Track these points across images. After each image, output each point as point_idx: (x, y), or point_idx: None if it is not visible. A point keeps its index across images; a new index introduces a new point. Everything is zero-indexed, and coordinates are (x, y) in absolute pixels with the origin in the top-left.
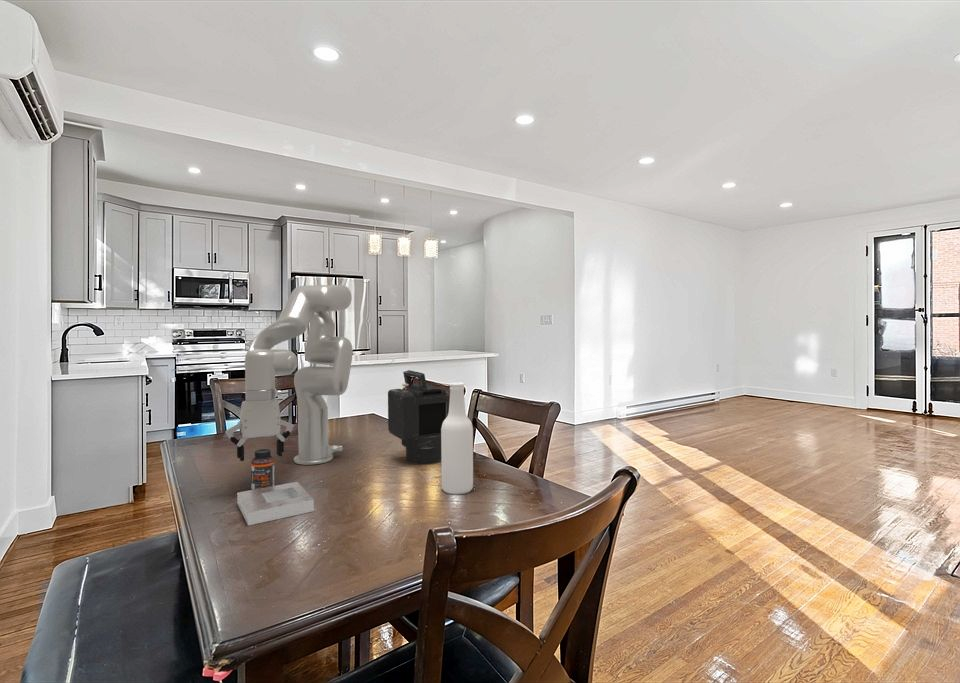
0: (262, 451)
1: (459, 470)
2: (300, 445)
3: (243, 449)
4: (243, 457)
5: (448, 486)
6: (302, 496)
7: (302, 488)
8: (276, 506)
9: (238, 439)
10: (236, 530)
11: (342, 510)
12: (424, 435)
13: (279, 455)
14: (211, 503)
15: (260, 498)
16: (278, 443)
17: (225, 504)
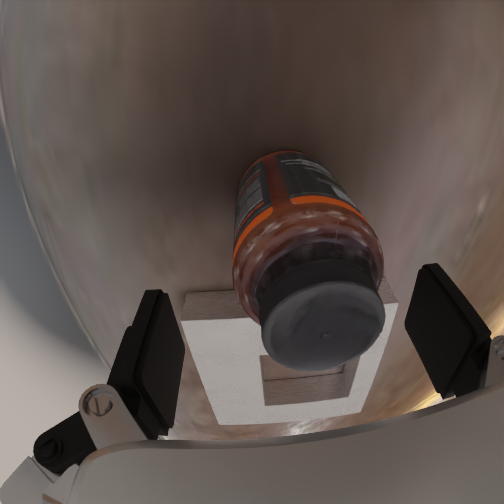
0: (316, 358)
1: None
2: None
3: (171, 413)
4: (179, 366)
5: None
6: (350, 398)
7: (378, 359)
8: (279, 420)
9: (100, 442)
10: (200, 406)
11: (395, 395)
12: None
13: (407, 326)
14: (104, 247)
15: (252, 383)
16: (441, 378)
17: (150, 277)
